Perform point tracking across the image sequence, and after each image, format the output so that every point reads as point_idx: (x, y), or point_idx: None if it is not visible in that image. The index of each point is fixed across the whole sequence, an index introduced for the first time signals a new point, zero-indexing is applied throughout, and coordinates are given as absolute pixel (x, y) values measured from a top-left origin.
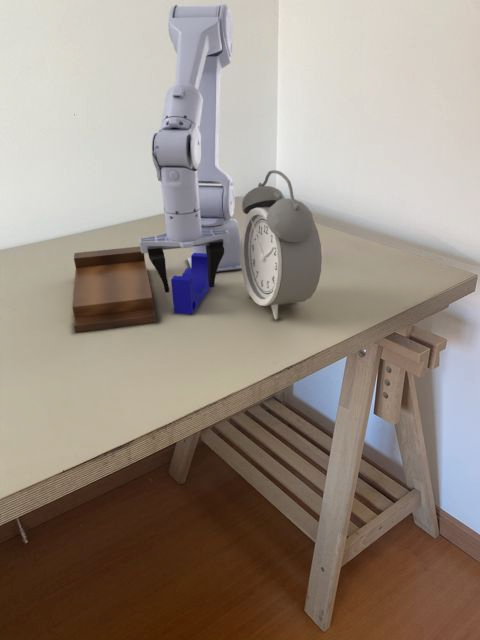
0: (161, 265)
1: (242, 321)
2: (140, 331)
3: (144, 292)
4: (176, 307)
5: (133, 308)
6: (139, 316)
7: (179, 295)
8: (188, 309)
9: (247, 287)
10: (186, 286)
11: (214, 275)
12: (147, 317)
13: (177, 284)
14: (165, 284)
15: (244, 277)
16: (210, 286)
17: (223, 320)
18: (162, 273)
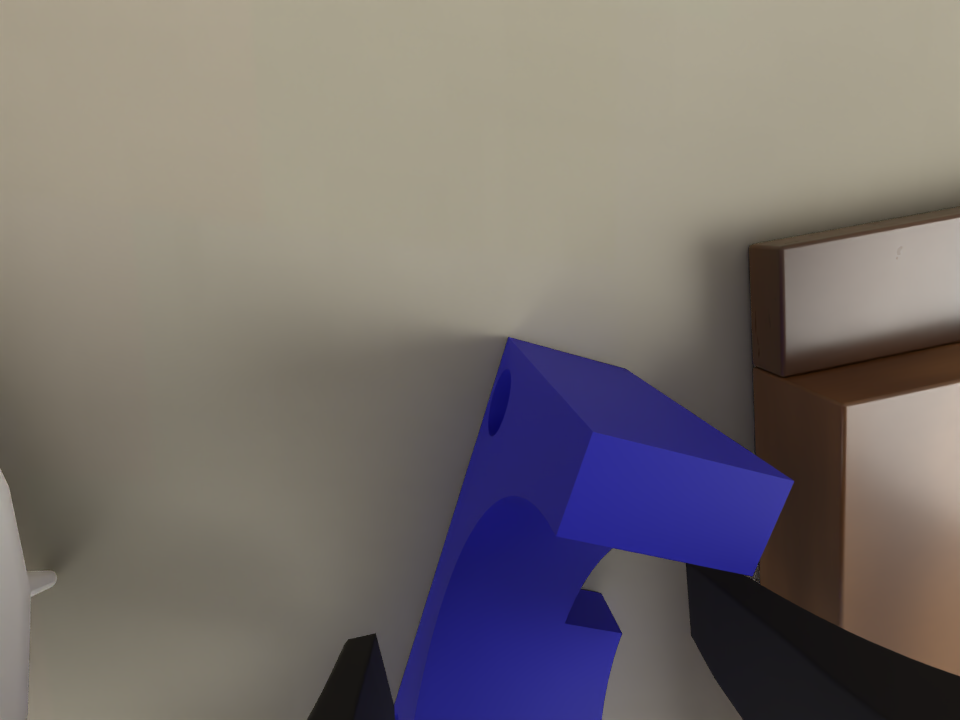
0: (947, 718)
1: (107, 180)
2: (850, 120)
3: (892, 498)
4: (625, 377)
5: (923, 355)
6: (885, 245)
7: (636, 398)
8: (537, 351)
9: (11, 582)
10: (600, 412)
11: (316, 717)
12: (829, 236)
13: (697, 443)
14: (749, 589)
15: (5, 706)
16: (372, 636)
17: (268, 218)
18: (850, 652)
